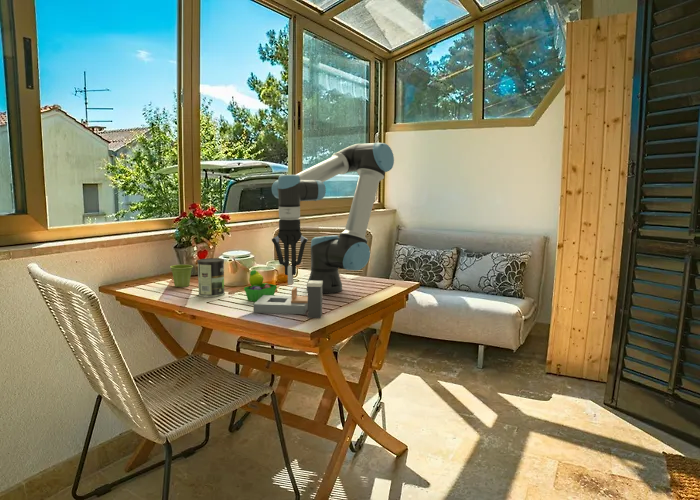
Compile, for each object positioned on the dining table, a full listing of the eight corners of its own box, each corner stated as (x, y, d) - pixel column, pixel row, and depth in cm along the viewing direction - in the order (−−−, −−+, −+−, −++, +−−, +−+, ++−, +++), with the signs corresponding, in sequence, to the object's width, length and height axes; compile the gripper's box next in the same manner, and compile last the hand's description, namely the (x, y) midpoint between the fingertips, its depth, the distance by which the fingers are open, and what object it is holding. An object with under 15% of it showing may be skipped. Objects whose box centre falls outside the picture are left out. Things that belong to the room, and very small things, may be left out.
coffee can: (225, 291, 207) (224, 257, 205) (224, 296, 197) (223, 261, 195) (199, 292, 205) (198, 258, 203) (197, 297, 195) (196, 262, 193)
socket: (263, 302, 188) (263, 295, 188) (310, 304, 187) (310, 296, 187) (253, 312, 174) (253, 304, 174) (304, 314, 173) (304, 305, 173)
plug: (309, 314, 173) (309, 280, 172) (322, 314, 173) (322, 280, 171) (307, 317, 169) (307, 283, 167) (320, 318, 168) (321, 283, 167)
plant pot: (189, 283, 222) (188, 263, 221) (196, 286, 215) (196, 266, 214) (167, 285, 217) (167, 265, 216) (175, 289, 209) (174, 268, 208)
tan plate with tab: (294, 297, 184) (294, 286, 183) (314, 298, 183) (314, 286, 182) (290, 302, 176) (290, 290, 176) (311, 303, 176) (311, 291, 175)
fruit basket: (257, 303, 187) (256, 274, 186) (240, 300, 192) (240, 271, 191) (278, 298, 196) (277, 269, 195) (261, 294, 202) (261, 267, 200)
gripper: (268, 219, 173) (270, 285, 176) (306, 219, 172) (306, 286, 175) (273, 217, 180) (275, 281, 184) (309, 217, 179) (310, 282, 183)
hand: (290, 283), depth 180 cm, fingers closed
